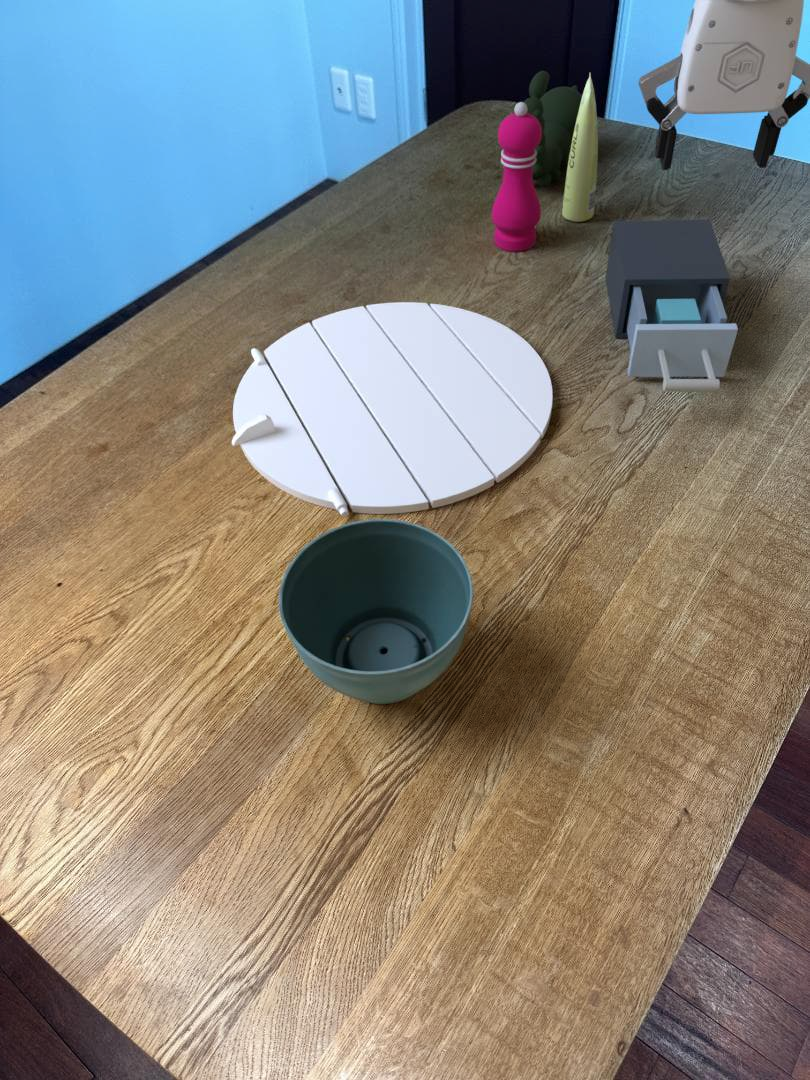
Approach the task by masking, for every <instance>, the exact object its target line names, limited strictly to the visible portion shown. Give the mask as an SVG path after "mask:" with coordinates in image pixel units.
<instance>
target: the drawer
mask: <svg viewBox="0 0 810 1080" xmlns="http://www.w3.org/2000/svg"><path fill="white" fill-rule="evenodd" d="M657 299H695V300H696V304H697V307H698V311H699V314H700V318H701V323H700V324H652V322H653V317H654V312H655V307H656V302H657ZM727 321H728V316H727V312H726V309H725V307H724V303H722V300H721V297H720V294H719V291H718V288H717V285H716V284H685V285H630V290H629V296H628V302H627V308H626V314H625V323H626V329H627V334H628V338H627V340H628V345H629V350H630V356H629V361H628V362H629V363H628V367H627V376H628V377H629V378H662V379H663V381H662V391H663V392H667V393H668V392H669V393H670V392H673V393H674V392H675V393H676V392H681V393H682V392H686V393H689V392H693V393H695V392H697V393H699V392H701V393H702V392H704V393H705V392H707V393H708V392H709V393H710V392H711V393H713V392H715V393H717V392H719V390H720V388H721V382H720V381H721V380H720V378H724V377H725V375H726V372H727V368H728V366H729V362H730V358H731V355H732V352H733V348H734V344H735V342H736V338H737V334H738V331H739V328H738V324H737V323H727Z"/></svg>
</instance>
